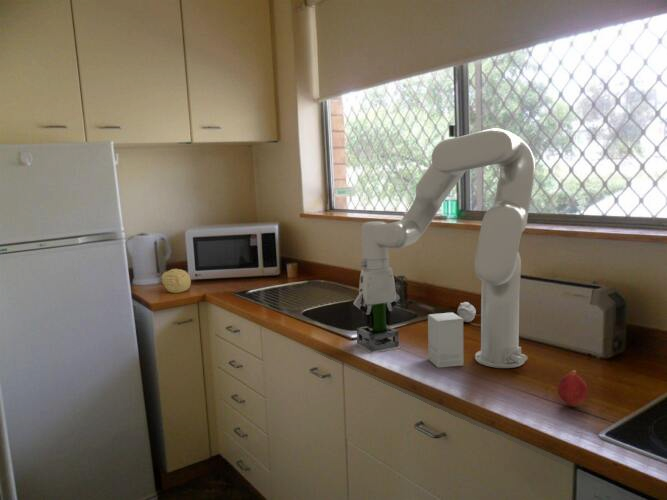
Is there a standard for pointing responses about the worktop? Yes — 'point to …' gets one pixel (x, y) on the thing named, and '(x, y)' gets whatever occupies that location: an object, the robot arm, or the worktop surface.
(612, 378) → the worktop surface
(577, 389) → the onion
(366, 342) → the collar stand
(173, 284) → the pale yellow bumpy ball
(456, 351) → the supplement box
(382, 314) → the beer can
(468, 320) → the crumpled paper ball
